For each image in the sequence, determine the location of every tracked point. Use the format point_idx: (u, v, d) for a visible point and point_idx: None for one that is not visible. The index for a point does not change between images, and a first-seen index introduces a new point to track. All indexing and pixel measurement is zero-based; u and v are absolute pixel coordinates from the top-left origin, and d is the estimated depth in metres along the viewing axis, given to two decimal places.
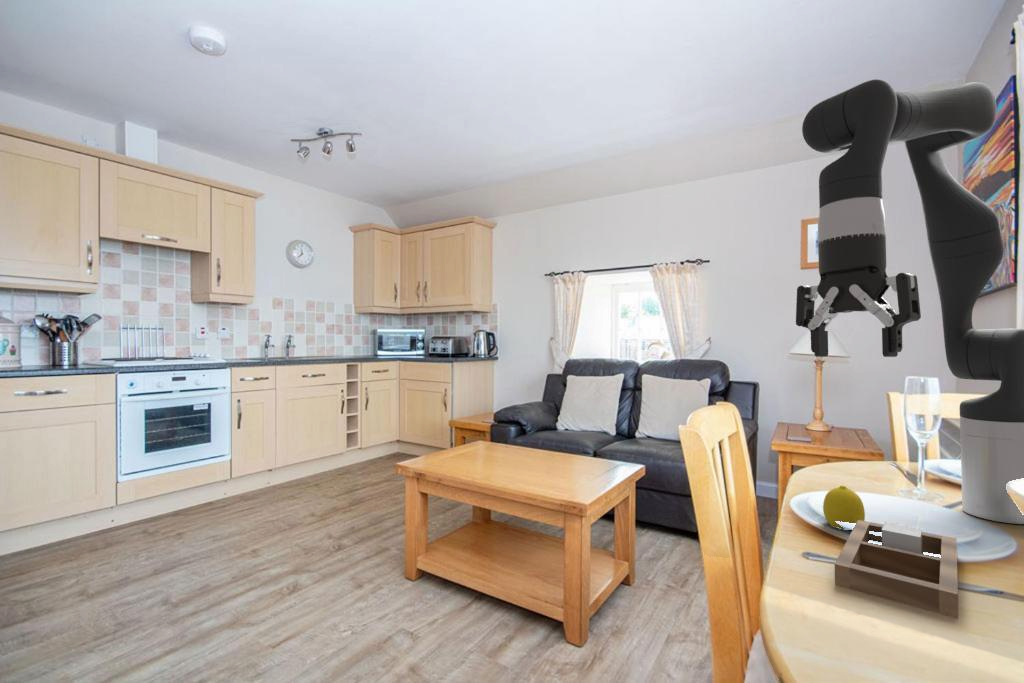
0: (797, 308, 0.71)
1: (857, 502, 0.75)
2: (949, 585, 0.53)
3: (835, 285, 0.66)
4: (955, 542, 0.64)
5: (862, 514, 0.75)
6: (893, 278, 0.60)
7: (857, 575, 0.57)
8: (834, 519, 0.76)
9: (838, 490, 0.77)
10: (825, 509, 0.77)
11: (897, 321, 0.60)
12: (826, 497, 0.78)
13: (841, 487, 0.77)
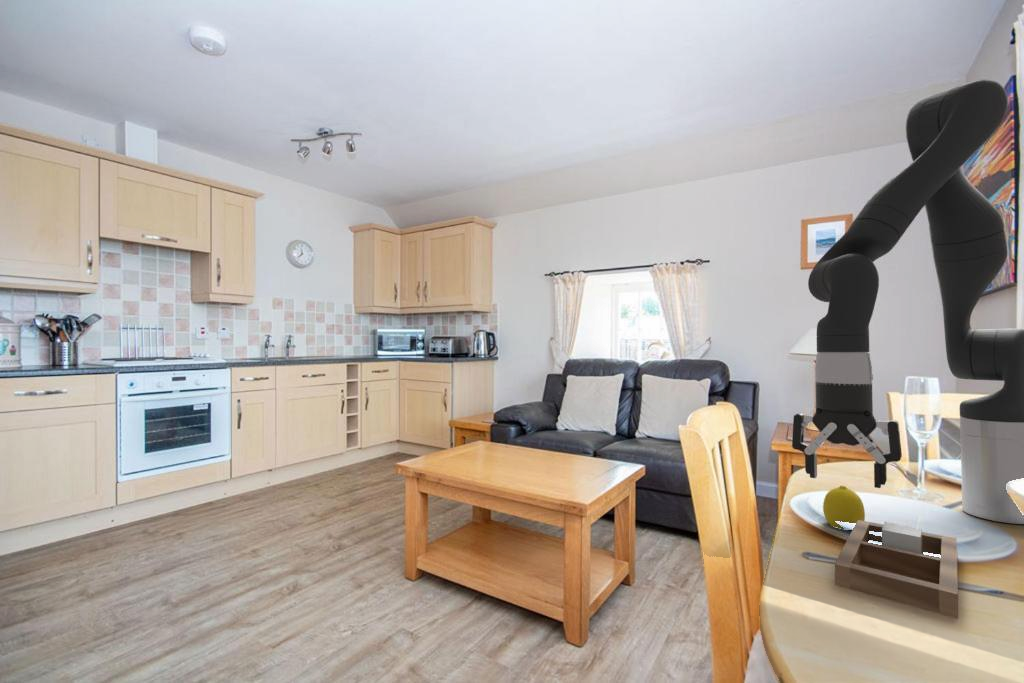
0: None
1: (857, 502, 0.75)
2: (949, 585, 0.53)
3: None
4: (955, 542, 0.64)
5: (862, 514, 0.75)
6: None
7: (857, 575, 0.57)
8: (834, 519, 0.76)
9: (838, 490, 0.77)
10: (825, 509, 0.77)
11: None
12: (826, 497, 0.78)
13: (841, 487, 0.77)
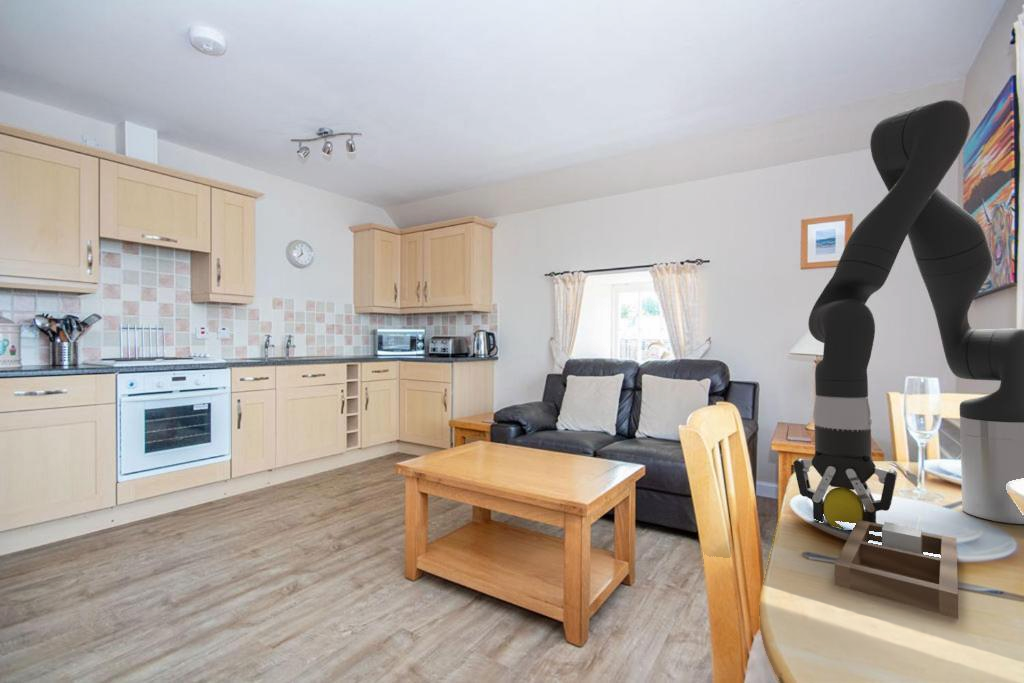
0: None
1: (857, 502, 0.75)
2: (949, 585, 0.53)
3: None
4: (955, 542, 0.64)
5: (862, 514, 0.75)
6: None
7: (857, 575, 0.57)
8: (834, 519, 0.76)
9: (838, 490, 0.77)
10: (825, 509, 0.77)
11: None
12: (826, 497, 0.78)
13: (841, 487, 0.77)
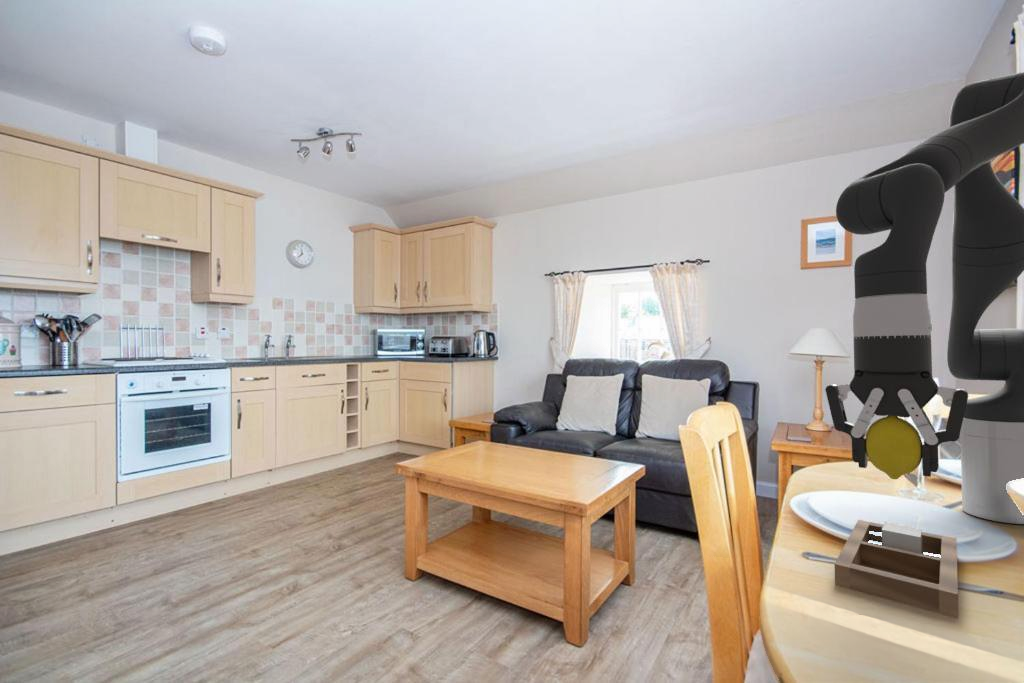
0: None
1: (913, 433, 0.57)
2: (949, 585, 0.53)
3: None
4: (955, 542, 0.64)
5: (920, 448, 0.56)
6: None
7: (857, 575, 0.57)
8: (881, 457, 0.58)
9: (886, 419, 0.59)
10: (869, 445, 0.59)
11: None
12: (870, 430, 0.60)
13: (890, 416, 0.59)
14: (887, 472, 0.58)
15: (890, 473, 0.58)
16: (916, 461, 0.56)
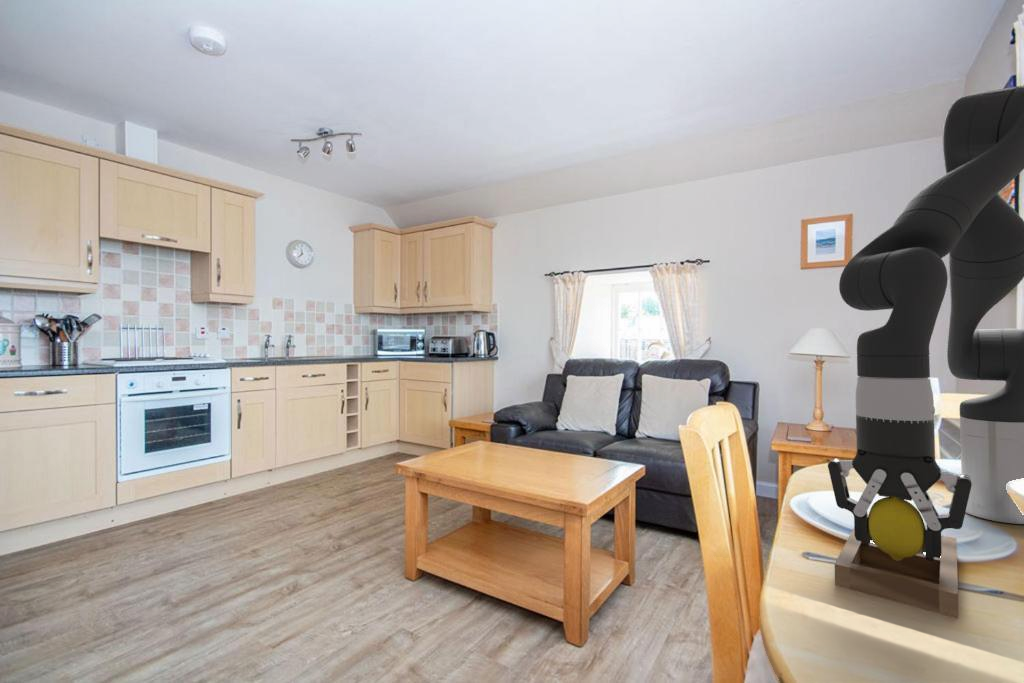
0: None
1: (916, 517, 0.56)
2: (949, 585, 0.53)
3: None
4: (955, 542, 0.64)
5: (923, 533, 0.56)
6: None
7: (857, 575, 0.57)
8: (884, 540, 0.57)
9: (889, 501, 0.58)
10: (871, 526, 0.59)
11: None
12: (872, 510, 0.59)
13: (893, 497, 0.59)
14: (890, 554, 0.58)
15: (892, 555, 0.58)
16: (919, 545, 0.56)
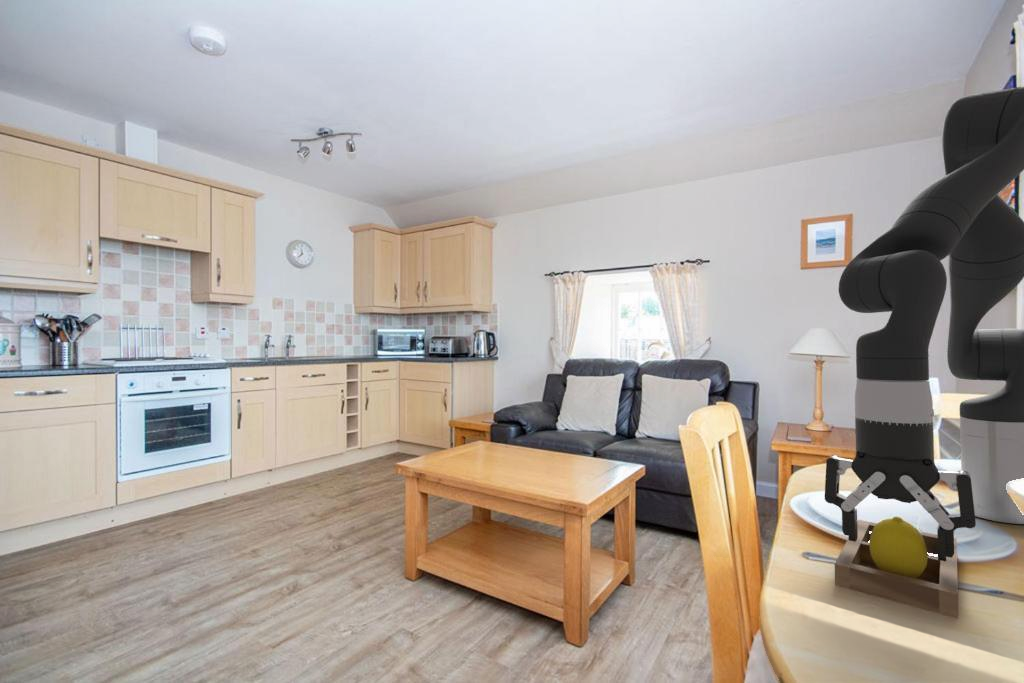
0: None
1: (918, 540, 0.56)
2: (949, 585, 0.53)
3: None
4: (955, 542, 0.64)
5: (924, 556, 0.56)
6: None
7: (857, 575, 0.57)
8: (885, 562, 0.57)
9: (891, 523, 0.58)
10: (873, 547, 0.59)
11: None
12: (874, 531, 0.59)
13: (895, 519, 0.58)
14: None
15: None
16: (921, 569, 0.56)
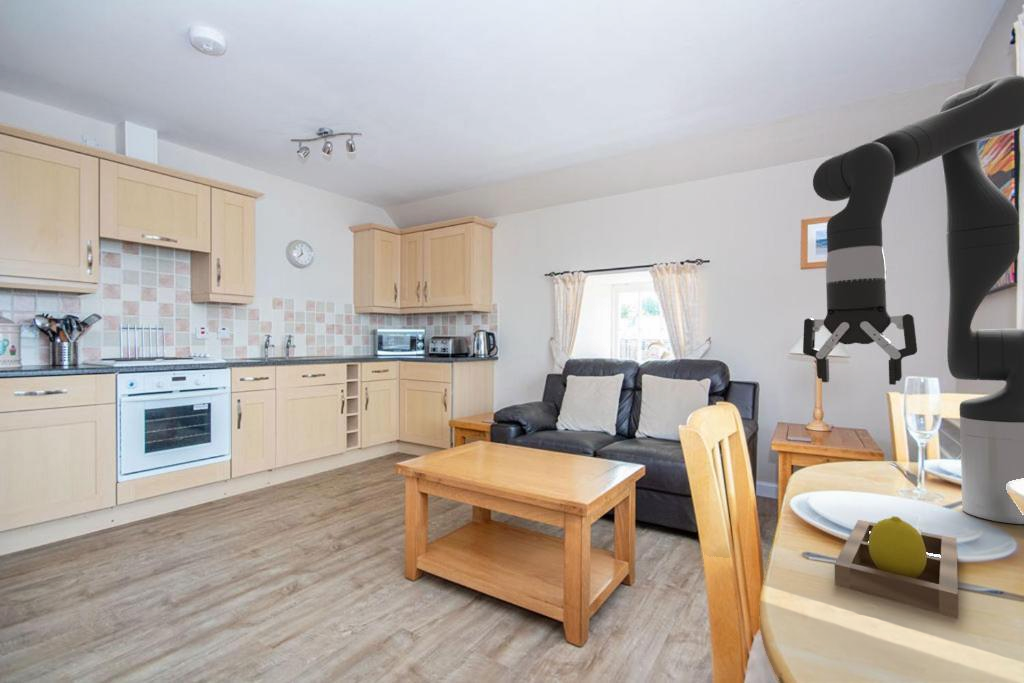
0: None
1: (916, 540, 0.56)
2: (949, 585, 0.53)
3: None
4: (955, 542, 0.64)
5: (923, 555, 0.56)
6: None
7: (857, 575, 0.57)
8: (884, 562, 0.57)
9: (889, 523, 0.58)
10: (872, 547, 0.59)
11: None
12: (873, 531, 0.59)
13: (893, 519, 0.59)
14: None
15: None
16: (920, 568, 0.56)
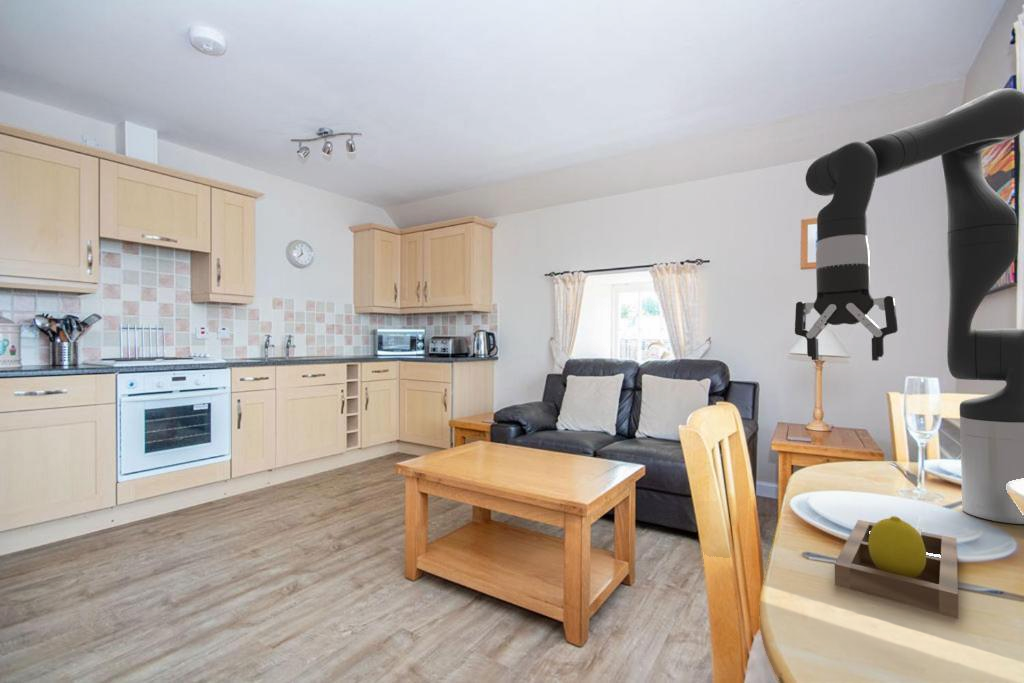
0: None
1: (916, 539, 0.56)
2: (949, 585, 0.53)
3: None
4: (955, 542, 0.64)
5: (923, 555, 0.56)
6: None
7: (857, 575, 0.57)
8: (884, 562, 0.58)
9: (889, 523, 0.58)
10: (872, 547, 0.59)
11: None
12: (873, 531, 0.59)
13: (893, 518, 0.59)
14: None
15: None
16: (920, 568, 0.56)
